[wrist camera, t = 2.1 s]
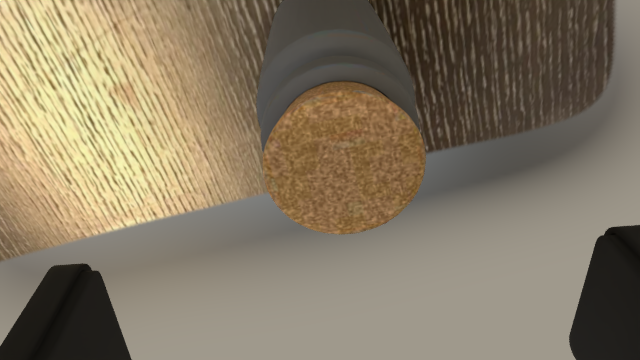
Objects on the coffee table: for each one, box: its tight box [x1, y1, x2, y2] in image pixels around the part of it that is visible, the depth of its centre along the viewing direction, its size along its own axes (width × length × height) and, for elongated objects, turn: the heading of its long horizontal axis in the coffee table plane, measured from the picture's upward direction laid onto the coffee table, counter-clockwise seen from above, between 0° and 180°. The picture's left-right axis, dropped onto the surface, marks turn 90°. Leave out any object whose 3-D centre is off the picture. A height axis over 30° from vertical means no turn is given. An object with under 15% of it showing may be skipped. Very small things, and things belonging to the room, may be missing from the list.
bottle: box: [256, 0, 426, 234], centre depth 21 cm, size 6×6×15 cm
